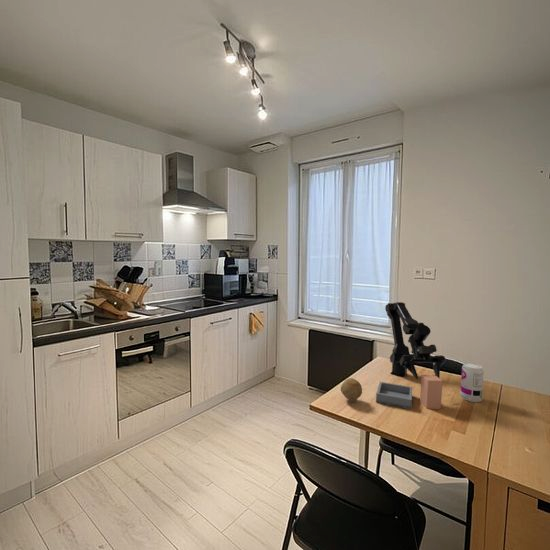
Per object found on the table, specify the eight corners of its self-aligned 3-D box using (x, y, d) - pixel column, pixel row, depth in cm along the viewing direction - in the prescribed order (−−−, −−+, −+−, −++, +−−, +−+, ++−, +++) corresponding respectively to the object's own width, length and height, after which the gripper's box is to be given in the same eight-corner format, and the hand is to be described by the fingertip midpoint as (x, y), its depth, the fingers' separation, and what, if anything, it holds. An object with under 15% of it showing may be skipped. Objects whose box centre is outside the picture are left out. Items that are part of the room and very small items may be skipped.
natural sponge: (336, 401, 138) (337, 378, 138) (346, 394, 145) (347, 373, 144) (355, 408, 132) (356, 384, 132) (365, 400, 139) (366, 378, 138)
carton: (420, 401, 139) (421, 374, 138) (433, 401, 139) (435, 375, 138) (426, 408, 133) (427, 380, 132) (440, 408, 133) (442, 380, 132)
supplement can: (460, 400, 141) (462, 367, 140) (459, 393, 148) (461, 361, 147) (482, 404, 137) (484, 370, 136) (480, 397, 144) (482, 364, 143)
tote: (376, 402, 138) (376, 393, 137) (379, 389, 150) (379, 381, 150) (411, 409, 132) (411, 399, 132) (411, 395, 145) (412, 387, 144)
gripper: (403, 337, 143) (412, 370, 132) (444, 337, 143) (457, 371, 132) (395, 349, 151) (404, 381, 141) (435, 350, 151) (446, 382, 141)
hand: (427, 378), depth 138 cm, fingers open, 9 cm apart
